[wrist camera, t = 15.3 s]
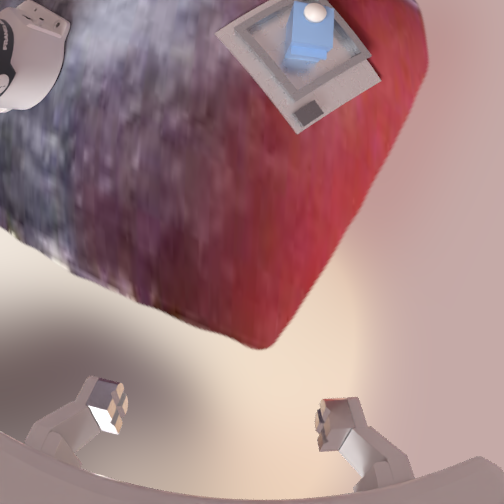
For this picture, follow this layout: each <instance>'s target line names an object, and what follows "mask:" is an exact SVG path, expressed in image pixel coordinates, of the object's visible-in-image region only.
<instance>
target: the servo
mask: <svg viewBox="0 0 504 504" xmlns="http://www.w3.org/2000/svg"><path fill="white" fill-rule="evenodd" d="M333 31H334V8H329V7H328V6H323V5H321V4H318V3H305V2H298V1H294V4H293V6H292V9H291V12H290V15H289V18H288V21H287V25H286V40H285V54H284V58H292V59H300V60H307V61H314V62H318V61H320V60H326V59H327V53H328V52H329V51H330V50H331V49H332V48H333Z"/></svg>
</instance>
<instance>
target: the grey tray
mask: <svg viewBox="0 0 504 504" xmlns="http://www.w3.org/2000/svg"><path fill="white" fill-rule="evenodd" d="M294 1H298V2H305V3H318V4H321V5H323V6H328V7H329V8H333V7H332V5H331V4H330V3H329V2H328V1H327V0H269V1H267V2H266V3H264V4H262V5H260V6H258V7H257V8H255V9H253V10H251V11H250V12H248V13H246V14H244V15H243V16H241V17H239V18H238V19H236V20H235V21H233V22H231V23H230V24H228V25H227V26H225V27H224V28H222V29H221V30H219V31H218V32H216V33H215V36H216V37H217V38H218V39H219V40H220V41H221V43H222V44H223V45H224V46H225V47H226V48H227V49H228V50H229V51H230V53H231V54H232V55H233V56H234V57H235V58H236V59H237V60H238V62H239V63H240V64H241V65H242V66H243V67H244V69H245V70H246V71H247V72H248V73H249V75H250V76H251V77H252V78H253V79H254V81H255V82H256V83H257V84H258V85H259V87H260V88H261V89H262V90H263V92H264V93H265V94H266V95H267V97H268V98H269V99H270V100H271V102H272V103H273V104H274V106H275V107H276V108H277V109H278V111H279V112H280V113H281V115H282V116H283V117H284V119H285V120H286V121H287V123H288V124H289V125H290V127H291V128H292V129H293V131H294V132H295V133H296V134H299V133H300V132H301V131H303V130H304V129H306V128H307V127H309V126H310V125H312V124H313V123H315V122H316V121H318V120H319V119H321V118H323V117H324V116H326V115H327V114H329V113H330V112H332V111H333V110H335V109H336V108H338V107H340V106H341V105H343V104H344V103H346V102H348V101H349V100H351V99H352V98H354V97H356V96H357V95H359V94H360V93H362V92H364V91H365V90H367V89H369V88H370V87H372V86H374V85H375V84H377V83H379V82H380V81H381V79H380V78H379V76H378V75H377V73H376V72H375V71H374V69H373V68H372V66H371V65H370V63H369V62H368V61H367V58H369V57H371V56H372V55H371V54H370V53H369V51H368V50H367V48H366V47H365V46H364V44H363V43H362V42H361V40H360V39H359V38H358V37H357V35H356V34H355V33H354V31H353V30H352V29H351V28H350V27H349V25H348V24H347V23H346V22H345V20H344V19H343V18H342V17H341V16H340V15H339V13H338V12H337V11H336V10H335V9H334V31H333V48H332V49H331V50H330V51H329V52H328V53H327V59H326V60H320V61H318V62H314V61H307V60H300V59H292V58H284V54H285V40H286V25H287V21H288V18H289V15H290V12H291V9H292V6H293V4H294Z"/></svg>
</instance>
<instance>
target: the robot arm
mask: <svg viewBox="0 0 504 504" xmlns="http://www.w3.org/2000/svg"><path fill="white" fill-rule="evenodd" d="M59 24H60V25H59ZM58 25H59V26H58ZM69 29H70V22H69V21H67V20H65V19H64V18H62V17H60V16H59V15H57V14H55V13H54V12H52V11H50V10H49V9H47V8H45V7H43V6H42V5H40V4H38V3H36V2H34V1H32V0H26V1H25V2H23V3H22V4H20V5H19V6H18V7H17V8H12V7H7V8H5V9H3V10H2V11H1V12H0V112H1V113H5V112H8V111H10V110H12V109H19V110H25V109H29V108H31V107H33V106H35V105H36V104H38V103H39V102H40V101H41V100H42V99H43V98H44V97H45V96H46V95H47V94H48V92H49V91H50V90H51V88H52V86H53V85H54V83H55V81H56V79H57V77H58V75H59V72H60V69H61V66H62V62H63V57H64V43H65V39H66V37H67V34H68V32H69ZM123 390H124V386H123V384H122V383H118V382H115V381H110V380H106V379H102V378H99V377H94V376H89V377H88V378H87V379H86V381H85V383H84V385H83V387H82V388H81V390H80V392H79V394H78V396H77V398H76V400H75V402H73V401H71V402H70V403H68V404H66V405H65V406H63V407H61V408H59V409H58V410H56V411H54V412H52V413H51V414H49V415H47V416H45V417H44V418H42V419H40V420H39V421H37V422H35V423H34V425H33V426H32V428H31V430H30V432H29V434H28V436H27V438H26V439H25V441H24V443H21V442H19V441H17V440H16V439H14V438H12V437H10V436H8V435H6V434H4V433H3V432H1V431H0V504H504V472H503V470H502V469H501V468H500V467H498V466H497V465H496V464H494V463H492V462H491V461H489V460H487V459H485V458H483V457H481V456H477V457H474V458H471V459H469V460H466V461H464V462H462V463H459V464H457V465H454V466H452V467H449V468H446V469H443V470H441V471H438V472H435V473H432V474H428V475H426V476H422V477H419V478H414V475H413V471H412V468H411V466H410V462H409V460H408V457H407V455H406V454H404V453H403V452H402V451H401V450H400V449H398V448H397V447H396V446H394V445H393V444H392V443H391V442H389V441H388V440H387V439H386V438H384V437H383V436H382V435H381V434H380V433H378V432H377V431H376V430H375V429H373V428H372V427H371V426H370V427H368V426H367V423H366V420H365V417H364V414H363V410H362V407H361V404H360V401H359V398H358V397H349V398H333V399H332V398H331V399H322V400H321V402H320V409H319V410H317V413H316V416H315V428H316V431H317V432H318V433H319V437H318V439H317V441H318V446H319V451H320V452H323V451H339V453H340V454H341V455H342V456H343V457H344V458H345V459H346V460H347V461H348V463H349V464H350V465H351V466H352V467H353V468H354V469H355V470H356V471H357V472H358V473H359V475H360V476H361V477H362V479H361V480H360V481H359V482H358V483H357V484H356V485H355V486H354V487H353V489H354V493H348V494H342V495H334V496H326V497H316V498H304V499H286V500H243V499H224V498H213V497H203V496H195V495H187V494H180V493H173V492H168V491H162V490H158V489H153V488H148V487H143V486H139V485H134V484H131V483H127V482H123V481H119V480H116V479H112V478H109V477H106V476H102V475H99V474H96V473H93V472H90V471H87V470H84V469H81V465H82V463H81V461H80V460H79V458H78V457H77V456H76V455H75V452H77V451H78V450H79V449H80V448H82V447H83V446H84V445H85V444H87V443H88V442H89V441H90V440H91V439H93V438H94V437H95V436H96V435H97V434H99V432H101V430H102V431H106V432H110V433H114V434H119V432H120V429H121V426H122V424H123V422H122V420H121V418H122V417H123V416H125V415H126V412H127V408H128V398H127V395H126V394H125V393H124V392H123Z"/></svg>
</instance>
